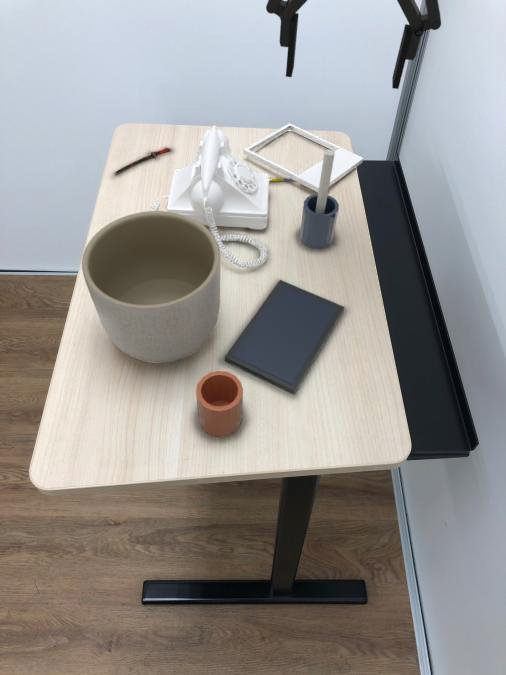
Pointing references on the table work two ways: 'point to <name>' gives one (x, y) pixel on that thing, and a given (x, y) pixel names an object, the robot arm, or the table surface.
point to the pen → (279, 179)
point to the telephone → (221, 193)
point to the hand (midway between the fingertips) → (342, 77)
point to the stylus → (324, 181)
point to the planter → (155, 284)
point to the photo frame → (311, 177)
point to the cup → (220, 403)
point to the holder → (318, 223)
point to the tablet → (285, 336)
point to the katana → (153, 154)
